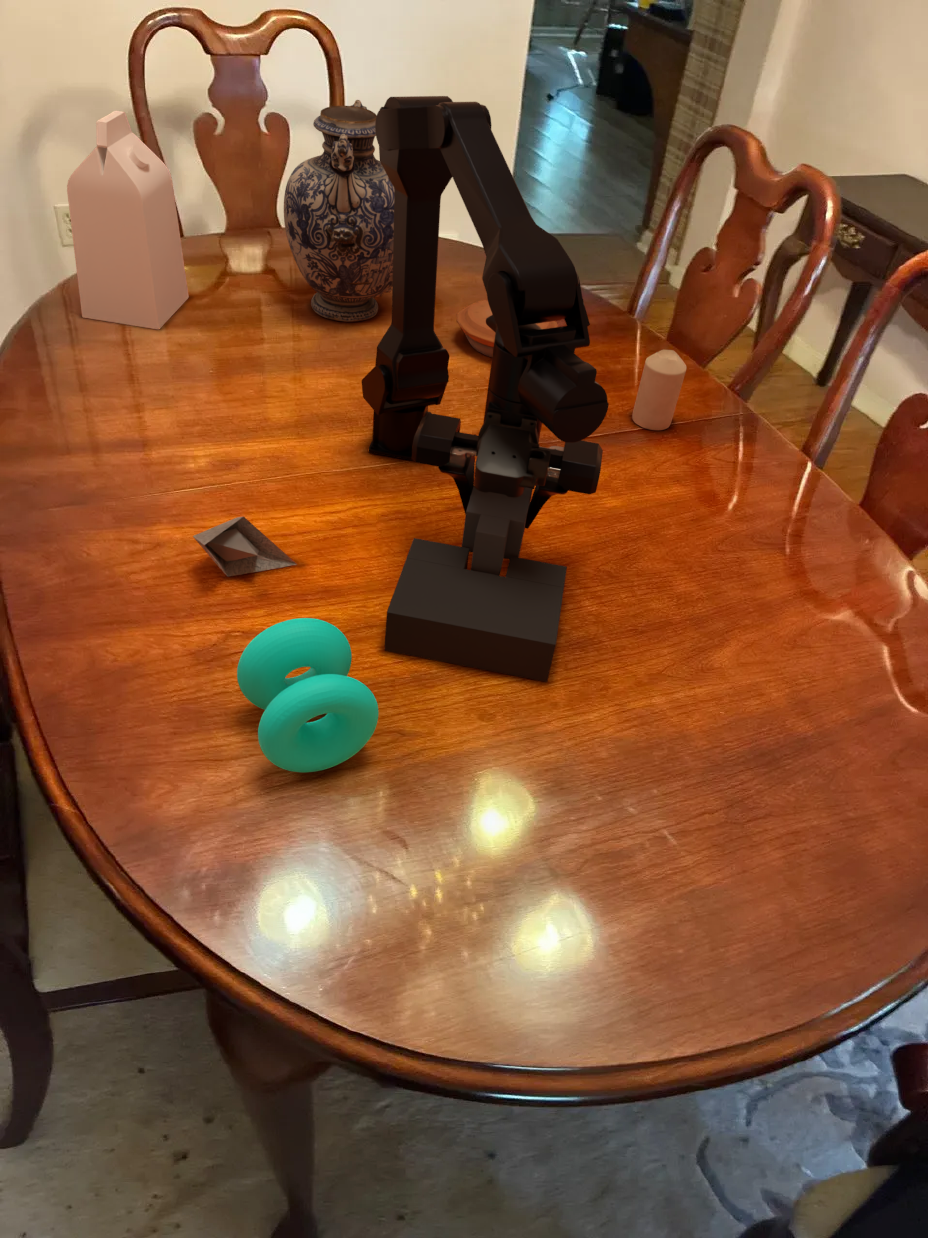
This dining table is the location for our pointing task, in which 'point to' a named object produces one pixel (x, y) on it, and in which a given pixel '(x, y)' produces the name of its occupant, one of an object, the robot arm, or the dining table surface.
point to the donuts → (306, 695)
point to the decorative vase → (342, 217)
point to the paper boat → (241, 548)
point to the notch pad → (476, 611)
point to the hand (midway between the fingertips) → (497, 520)
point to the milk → (126, 231)
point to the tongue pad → (494, 528)
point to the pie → (483, 326)
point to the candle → (659, 390)
